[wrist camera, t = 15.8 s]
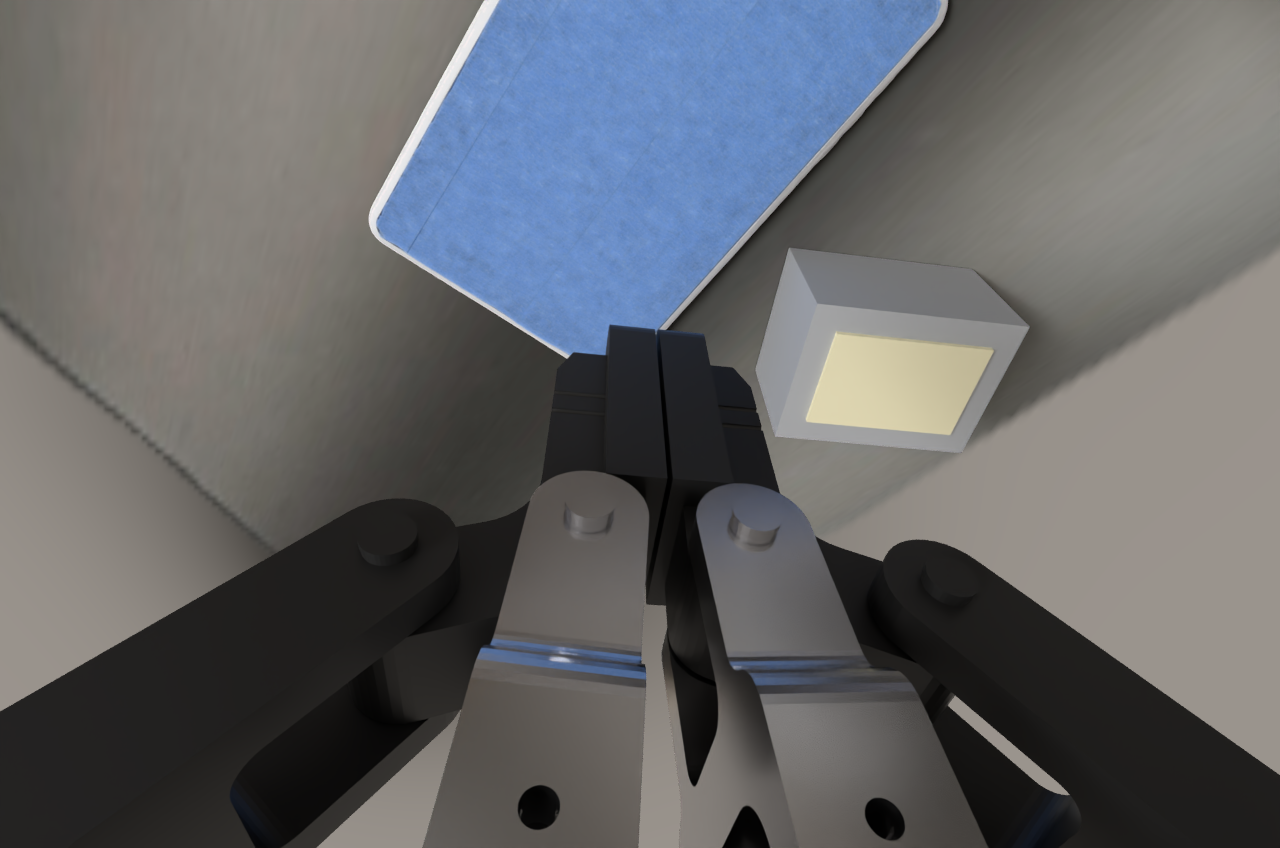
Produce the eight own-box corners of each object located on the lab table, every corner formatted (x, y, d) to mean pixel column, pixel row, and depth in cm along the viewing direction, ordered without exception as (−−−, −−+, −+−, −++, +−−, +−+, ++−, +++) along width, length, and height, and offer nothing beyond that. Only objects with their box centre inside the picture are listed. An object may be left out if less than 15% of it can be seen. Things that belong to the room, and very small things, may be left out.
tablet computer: (672, -337, 18) (675, -353, 17) (953, 2, 23) (969, 6, 22) (365, 219, 27) (355, 231, 26) (614, 377, 32) (614, 393, 31)
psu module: (972, 269, 28) (1032, 329, 24) (918, 385, 32) (963, 456, 28) (789, 247, 28) (818, 306, 23) (755, 369, 31) (775, 439, 27)
